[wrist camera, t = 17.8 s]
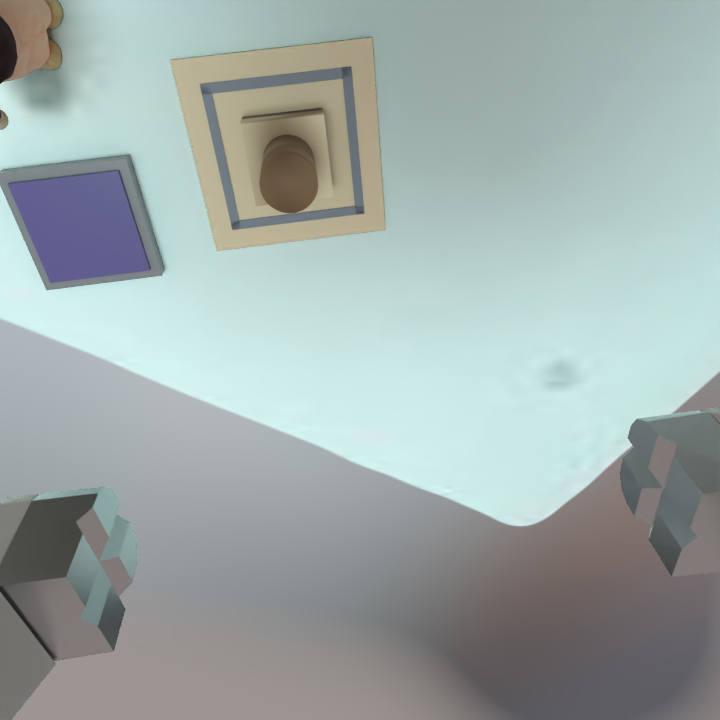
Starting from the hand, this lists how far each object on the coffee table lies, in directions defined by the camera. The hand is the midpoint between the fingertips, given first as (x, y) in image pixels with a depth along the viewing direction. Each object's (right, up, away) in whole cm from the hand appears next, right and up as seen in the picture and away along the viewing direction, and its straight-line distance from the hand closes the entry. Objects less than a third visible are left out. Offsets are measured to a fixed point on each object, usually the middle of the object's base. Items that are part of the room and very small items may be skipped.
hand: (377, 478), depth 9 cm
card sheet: (-5, +15, +28) cm, 33 cm away
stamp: (-5, +15, +28) cm, 32 cm away
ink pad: (-19, +11, +29) cm, 36 cm away
